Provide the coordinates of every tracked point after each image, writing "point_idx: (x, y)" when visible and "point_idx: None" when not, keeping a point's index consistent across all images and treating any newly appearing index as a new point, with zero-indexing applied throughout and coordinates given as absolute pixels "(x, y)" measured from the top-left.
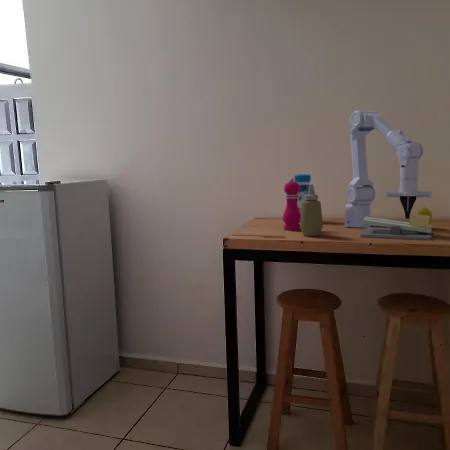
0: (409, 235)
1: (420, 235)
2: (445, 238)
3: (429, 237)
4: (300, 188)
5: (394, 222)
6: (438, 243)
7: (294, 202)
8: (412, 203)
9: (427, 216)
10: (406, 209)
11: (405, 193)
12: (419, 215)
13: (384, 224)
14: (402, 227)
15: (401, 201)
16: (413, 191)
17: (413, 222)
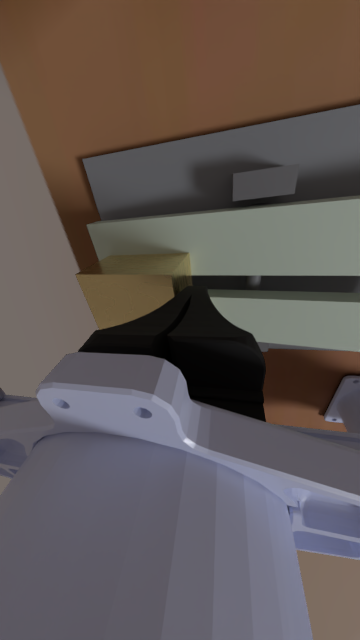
0: (183, 172)
1: (136, 194)
2: (66, 235)
3: (90, 159)
4: None
5: (266, 298)
6: (28, 57)
7: None
8: (132, 325)
9: (101, 315)
10: (194, 305)
11: (155, 377)
12: (134, 315)
13: (346, 198)
14: (220, 211)
15: (239, 332)
16: (34, 456)
17: (163, 259)
